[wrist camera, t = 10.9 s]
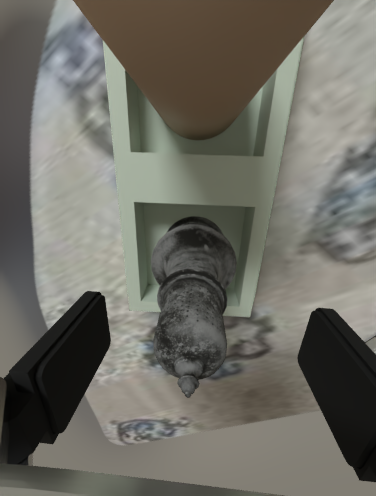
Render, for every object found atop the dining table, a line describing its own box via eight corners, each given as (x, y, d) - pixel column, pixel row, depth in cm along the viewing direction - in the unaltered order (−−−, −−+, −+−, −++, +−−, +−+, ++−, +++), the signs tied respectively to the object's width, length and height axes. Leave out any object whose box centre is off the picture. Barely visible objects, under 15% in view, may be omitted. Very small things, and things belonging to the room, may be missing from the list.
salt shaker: (187, 288, 19) (172, 467, 8) (145, 239, 17) (48, 377, 6) (242, 254, 17) (324, 416, 6) (202, 197, 16) (214, 276, 4)
